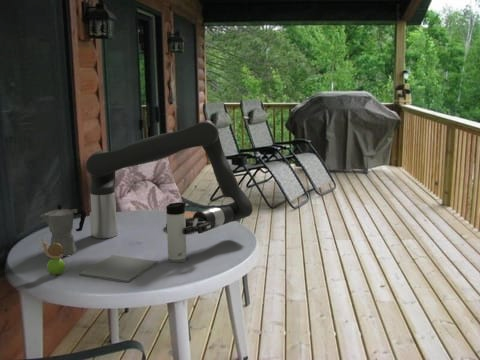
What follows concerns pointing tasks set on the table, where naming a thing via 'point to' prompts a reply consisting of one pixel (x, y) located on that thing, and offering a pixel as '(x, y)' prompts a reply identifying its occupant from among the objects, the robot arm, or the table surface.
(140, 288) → the table surface
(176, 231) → the travel mug
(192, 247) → the table surface
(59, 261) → the snail figurine
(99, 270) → the mat
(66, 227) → the coffeepot
